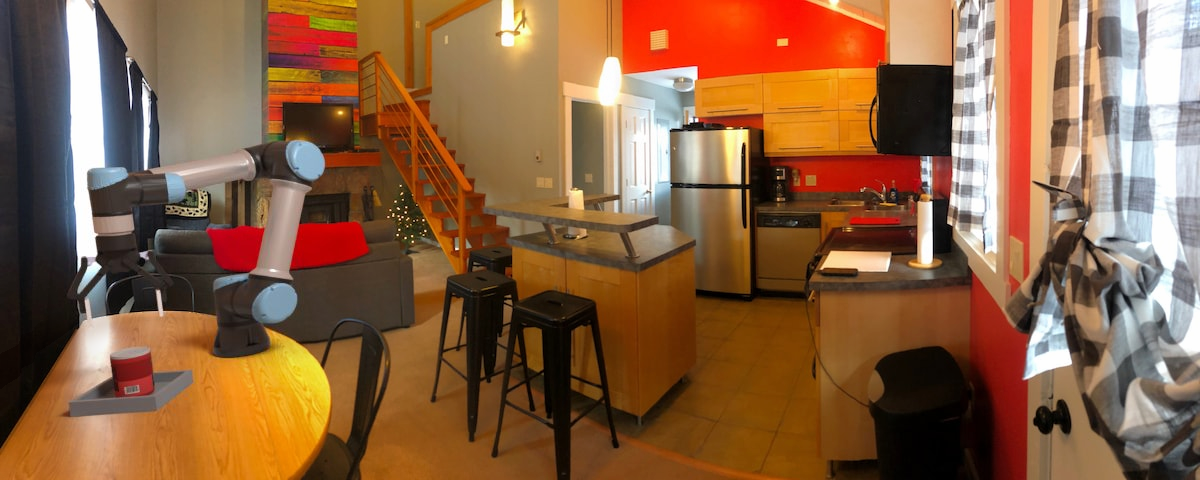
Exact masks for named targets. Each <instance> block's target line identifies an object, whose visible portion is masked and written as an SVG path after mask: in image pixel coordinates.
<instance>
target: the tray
mask: <svg viewBox="0 0 1200 480" xmlns="http://www.w3.org/2000/svg"><path fill="white" fill-rule="evenodd" d="M153 374H154V383H155V390H154V392H153V393H152V394H150V395H148V396H134V397H119V398H116V396H115V391H114V384H113V377H112V376H110V377H109V378H107V379H106V380H104V381H102V382H101V383H99V384H97V385H95V386H93V387H92V388H90V389H89V390H87V391H85V392H84V393H82V394H81V395H80V394H79V396H77V397H75V398H73V399H72V400H70V401H68V409H69V415H70V418H74V417H75V418H76V417H77V418H78V417H87V416H88V417H90V416H104V415H117V414H131V413H132V414H133V413H144V412H157V411H159V410H160V409H162V408H163V407H164V406H165V405H166V404H168V403H169V402H171V401H172V400H173V399H175V397H177V396H178V395H180V394H181V393H182V392H183V391H185V390H186V389H187V388H188V387H189V386H191V385H192V384H194V374H193V370H192V369H182V370H168V371H153Z"/></svg>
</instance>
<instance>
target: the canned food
mask: <svg viewBox="0 0 1200 480" xmlns="http://www.w3.org/2000/svg"><path fill="white" fill-rule="evenodd" d="M151 351H152V350H151V348H150V347H148V346H133V347H128V348H123V349H119V350H116V351H113V352H112V353H110V354H109V360H110V362H109V363H110V369H111V377H113V384H114V391H115V396H116V398H119V397H134V396H148V395H150V394H152V393H153V392H154V390H155V383H154V374H153V372H154V368H153V359H152V353H151Z"/></svg>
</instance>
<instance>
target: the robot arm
mask: <svg viewBox="0 0 1200 480" xmlns="http://www.w3.org/2000/svg"><path fill="white" fill-rule="evenodd" d="M325 167H326V161H325V157H324V155H323V153H322V151H321V149H320V148H319V147H318V146H317V145H315V143H312V142H310V141H306V140H300V139H295V140H275V141H273V140H272V141H268V142H264V143H260V144H257V145H252V146H249V147H245V148H238V149H237V150H235V152H234V153H229V154H225V155H220V156H215V157H209V158H203V159H197V160H192V161H187V162H181V163H175V164H172V165H171V164H170V165H166V166H165V165H164V166H160V167H159V166H158V167H155V168H153V167H152V168H148V169H144V170H137V171H132V172H128V169H126V168H125V167H124V166H122V167H121V166H120V167H119V166H118V167H117V166H115V167H113V166H111V167H92V168H89V169H88V170H87V172H86V185H87V186H86V190H87V191H88V197H89V198H88V199H89V203H90V210H91V218H92V219H91V220H92V227H93V232H94V234H96V236H95V237H94V241H95V248H96V256H81V257H80V267H79V269H78V271H77V273H76V275H75V278H74V280H73V281H72V284H71V285H70V288H69V289H68V292H67V295H66V296H67V299H69V300H75V301H77V302H78V308H79V313H80V315H82V314H83V315H84V314H86V319H87V326H88V328H93V327H94V324H93V317H92V311H91V305H90V299H89V297H88V295H89V294H90V293H91V291H92V290H93V289H94V288H95V287H96V286H97V285H98V283H99V282H100V281H101V280H102V279H103V278H104V277H105V276H106V275H107V273H109V274H118V273H129V272H130V271H132V270H133V271H134V272H137V274H138V275H140V276H141V277H143V278H145V279H146V280H147V281H149V282H150V283H151V284H153V285H154V286H156V287H157V288H155V296H156V303H157V310H158V315H159V318H160V317H164V309H163V303H166V302H167V300H168V297H167V288H170V287H172V286H174V285H175V284H174V281H173V279H172V278H171V276H169V274H168V273H167V272H166V271H165V270H164V268H163V266H162V265H161V264H160V263H159V262H158V260H157V259H156V257H155V253H154V251H153V250H152V249H148V250H146V251H143V252H139V251H138V247H137V239H136V233H135V232H133V231H134V230H135V225H134V224H135V223H134V216H133V215H134V214H133V207H139V206H151V205H154V206H155V205H170V204H174V203H179V202H182V201H183V200H184V199H185V197H186V193H187V191H191V190H196V189H201V188H206V187H210V186H216V185H220V184H223V183H229V182H233V181H237V180H244V181H247V182H249V181H253V180H254V181H255V180H263V179H264V180H268V181H269V183H270V184H271V186H272V187H273V188H272V194H271V198H270V202H269V208H268V212H267V216H266V221H265V226H264V232H263V235H262V238H261V239H262V241H261V245H260V250H259V252H258V253H259V254H258V258H257V263H256V267H255V268H253V269H252V270H251V271H250V272H247V273H239V274H233V275H227V276H222V277H217V278H216V279H215V280H213V283H212V284H213V286H212V287H213V291H212V293H213V297H214V299H213V300H214V306H215V315H216V327H217V329H216V333H215V337H214V341H213V345H212V352H213V356H216V357H219V358H237V357H245V356H250V355H254V354H257V353H261V352H264V351H265V350H268V349H269V348H270V347H271V338H270V336H269V334H268V331H267V330H266V327H265V326H264V324H277V323H280V322H283V321H285V320H286V319H287V318H289V317H290V316H291V315H292V314H293V313H294V311H295V309H296V307H297V304H298V294H297V292H296V289H294V287H293V282H294V277H293V276H292V275H291V273H290V269H291V265H292V260H293V254H294V249H295V244H296V241H297V235H298V230H299V225H300V220H301V215H302V211H303V207H304V202H305V197H306V194H307V193H308V192H310V191H312V189H313V185H314V181H315V180H317V179H318V180H319V178H320V177H322V175H323V174H324V171H325ZM141 258H143V259H144V260H146V261H149V262H150V264H151V266H153V268H154V269H155V270H156V272H158V274H159V275H160V276H161V278H162V279H163V280H164V282H162V281H160V280H159V279H158V278H157V277H155V276H154V275H152V274H151V273H149V272H148V271H147V270H145V269H144V268H143V267H141V266H140V264H138V262H139V260H140V259H141ZM93 263H96V264H98V265H99V266H100V268H99V270H98V271H97V273H95V275H94V276H93V277H92V278H91V279H90V281H89V282H88V283H87V284H86V285H85V286H84V287H83V289H82V290H81V291H80V292H79V293H78V292H77V291H78V289H79V287H80V285H81V283H82V281H83V278H84V277H85V274H86V273H87V270H88V267H91V266H92V265H93Z"/></svg>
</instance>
